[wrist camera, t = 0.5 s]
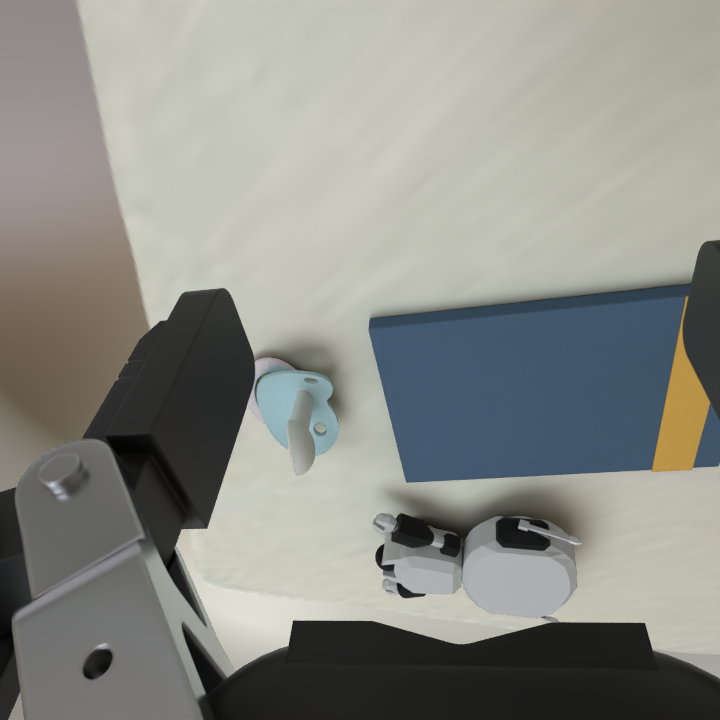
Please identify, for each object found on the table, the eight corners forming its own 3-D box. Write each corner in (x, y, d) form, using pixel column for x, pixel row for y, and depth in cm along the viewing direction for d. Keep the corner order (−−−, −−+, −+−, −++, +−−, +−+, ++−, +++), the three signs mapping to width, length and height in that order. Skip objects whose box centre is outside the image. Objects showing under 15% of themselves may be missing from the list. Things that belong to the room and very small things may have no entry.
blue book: (369, 318, 33) (368, 330, 32) (767, 274, 29) (777, 288, 28) (406, 471, 42) (405, 484, 41) (713, 454, 38) (719, 468, 37)
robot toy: (385, 563, 52) (561, 580, 50) (378, 613, 49) (566, 634, 46) (373, 479, 44) (584, 494, 42) (364, 532, 41) (592, 552, 38)
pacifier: (257, 426, 40) (344, 429, 39) (232, 504, 36) (330, 509, 35) (234, 344, 35) (332, 346, 35) (201, 423, 31) (313, 427, 30)
